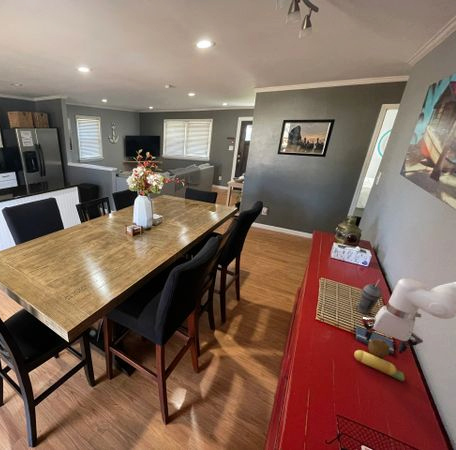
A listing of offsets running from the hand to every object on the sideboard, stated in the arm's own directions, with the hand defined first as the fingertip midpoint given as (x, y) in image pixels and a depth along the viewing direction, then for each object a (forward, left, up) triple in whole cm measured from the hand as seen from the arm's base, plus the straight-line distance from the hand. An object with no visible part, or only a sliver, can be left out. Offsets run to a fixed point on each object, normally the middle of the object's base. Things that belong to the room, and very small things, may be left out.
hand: (382, 344), depth 95 cm
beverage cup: (+4, -30, -7) cm, 31 cm away
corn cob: (0, +7, -7) cm, 10 cm away
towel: (+1, -9, -7) cm, 11 cm away
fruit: (+1, 0, -7) cm, 7 cm away
